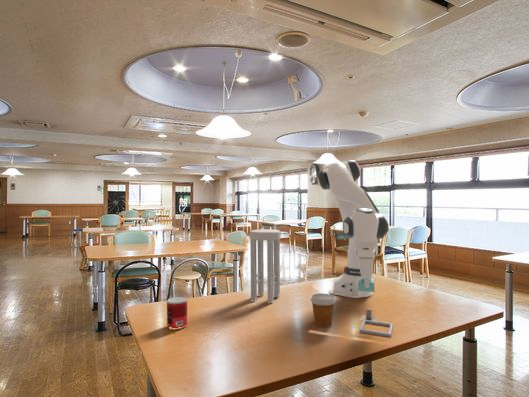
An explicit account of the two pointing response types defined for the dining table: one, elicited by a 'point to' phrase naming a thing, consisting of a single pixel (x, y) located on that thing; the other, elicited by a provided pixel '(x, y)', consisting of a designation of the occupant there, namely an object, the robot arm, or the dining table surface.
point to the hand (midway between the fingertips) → (367, 284)
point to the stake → (368, 316)
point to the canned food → (177, 312)
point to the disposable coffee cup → (323, 309)
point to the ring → (362, 288)
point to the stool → (269, 236)
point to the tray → (376, 331)
